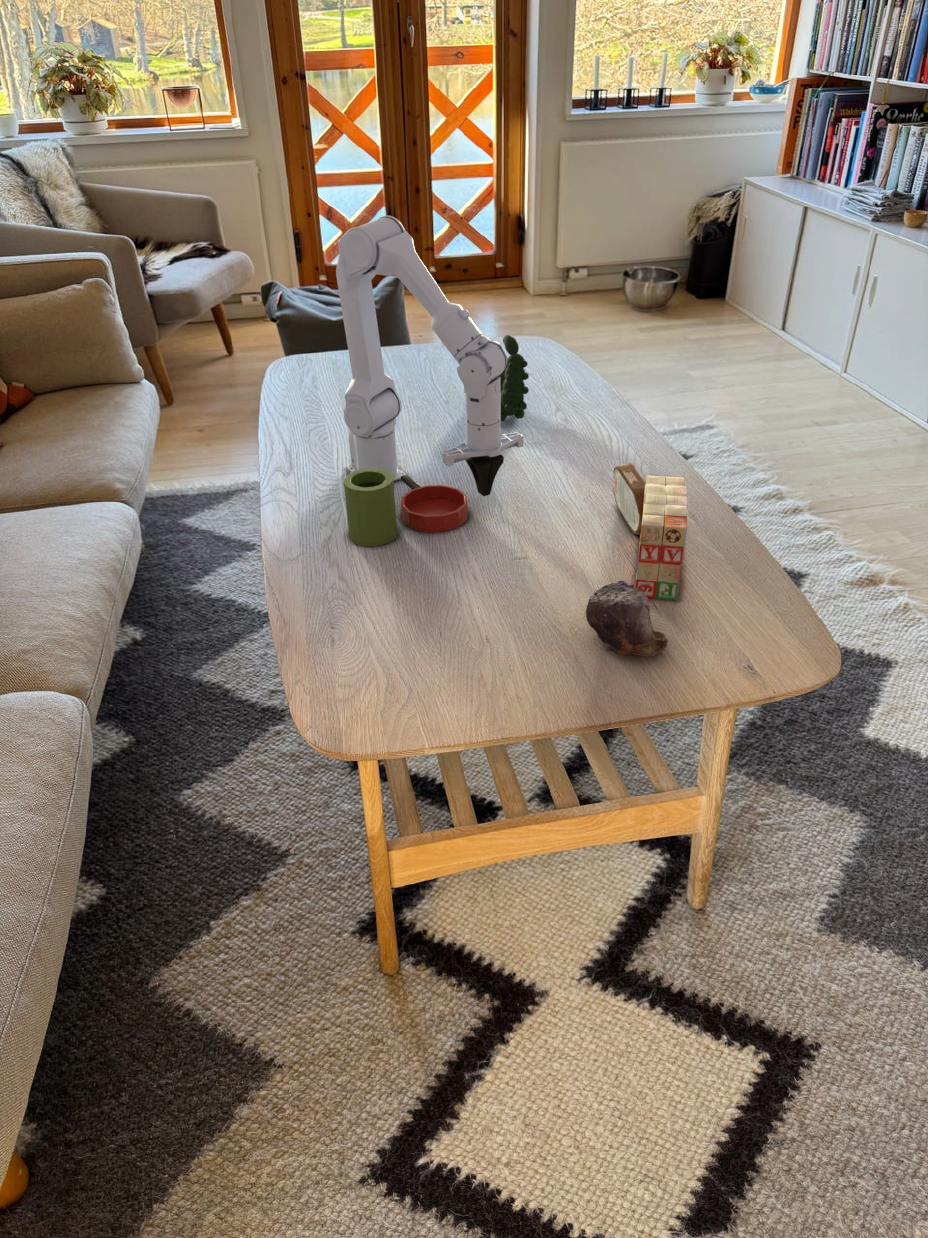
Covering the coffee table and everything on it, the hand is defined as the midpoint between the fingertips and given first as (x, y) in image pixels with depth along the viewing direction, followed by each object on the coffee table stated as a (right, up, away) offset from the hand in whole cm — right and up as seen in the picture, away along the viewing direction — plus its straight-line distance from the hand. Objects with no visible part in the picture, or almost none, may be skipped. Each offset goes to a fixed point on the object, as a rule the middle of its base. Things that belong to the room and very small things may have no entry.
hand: (484, 493), depth 162 cm
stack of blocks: (+27, -13, -16) cm, 34 cm away
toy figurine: (+3, +22, +34) cm, 40 cm away
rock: (+18, -25, -33) cm, 45 cm away
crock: (-18, -8, -7) cm, 21 cm away
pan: (-10, -3, -1) cm, 10 cm away
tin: (+24, -5, -6) cm, 25 cm away
